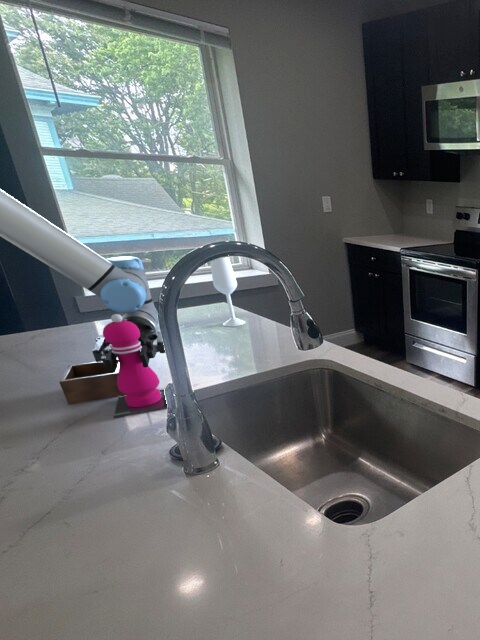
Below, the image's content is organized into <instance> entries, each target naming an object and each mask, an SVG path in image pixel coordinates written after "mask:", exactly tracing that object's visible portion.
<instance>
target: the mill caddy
mask: <svg viewBox="0 0 480 640" xmlns="http://www.w3.org/2000/svg"><path fill="white" fill-rule="evenodd" d="M119 368H120V365H119V360H118V358H117V364H116V367H115V370H114V372H111V373H109V371H108V369H107V366H106V365H104V364H103V362H102V361H101V362H96V361H92V362H91V361H90V362H84V363H83V362H82V363H75V364H69V365H67V367H66V369H65V371H64V372H63V374H62V376H61V378H60V380H59V381H58V382H59V385H60V388H61V390H62V392H63V395H64V398H65V399H66V402H67V405H73V404H79V403H85V402H86V403H87V402H90V401H96V400H97V401H98V400H102V399H110V398H115V397H121V396H126V394H124V393H122V392H120V390H119V389H118V385H117V378H118V373H119Z"/></svg>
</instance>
